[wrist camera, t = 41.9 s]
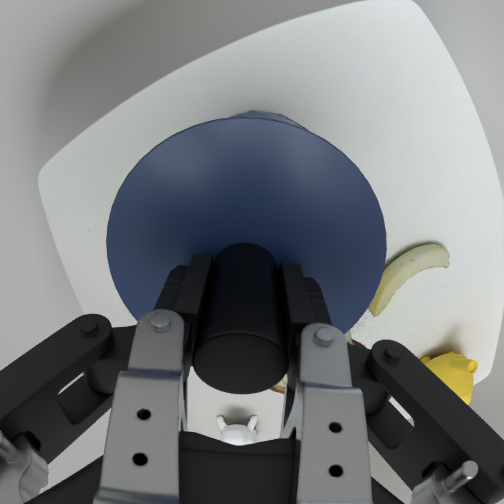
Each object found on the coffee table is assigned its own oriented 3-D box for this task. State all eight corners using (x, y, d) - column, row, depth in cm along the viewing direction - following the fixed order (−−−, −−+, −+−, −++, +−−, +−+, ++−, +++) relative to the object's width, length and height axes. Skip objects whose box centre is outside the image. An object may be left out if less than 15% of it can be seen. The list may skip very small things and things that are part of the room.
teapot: (419, 331, 47) (450, 387, 35) (478, 320, 47) (512, 366, 34) (390, 397, 56) (407, 447, 44) (445, 385, 56) (466, 428, 43)
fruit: (352, 277, 42) (359, 290, 39) (438, 226, 38) (449, 236, 35) (369, 309, 44) (375, 323, 41) (447, 262, 41) (458, 273, 38)
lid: (131, 339, 16) (95, 430, 10) (112, 113, 10) (6, 132, 5) (340, 357, 16) (364, 451, 11) (403, 142, 11) (505, 184, 5)
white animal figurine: (259, 421, 63) (255, 410, 52) (260, 454, 58) (256, 451, 47) (223, 422, 64) (211, 410, 53) (223, 455, 58) (210, 451, 47)
